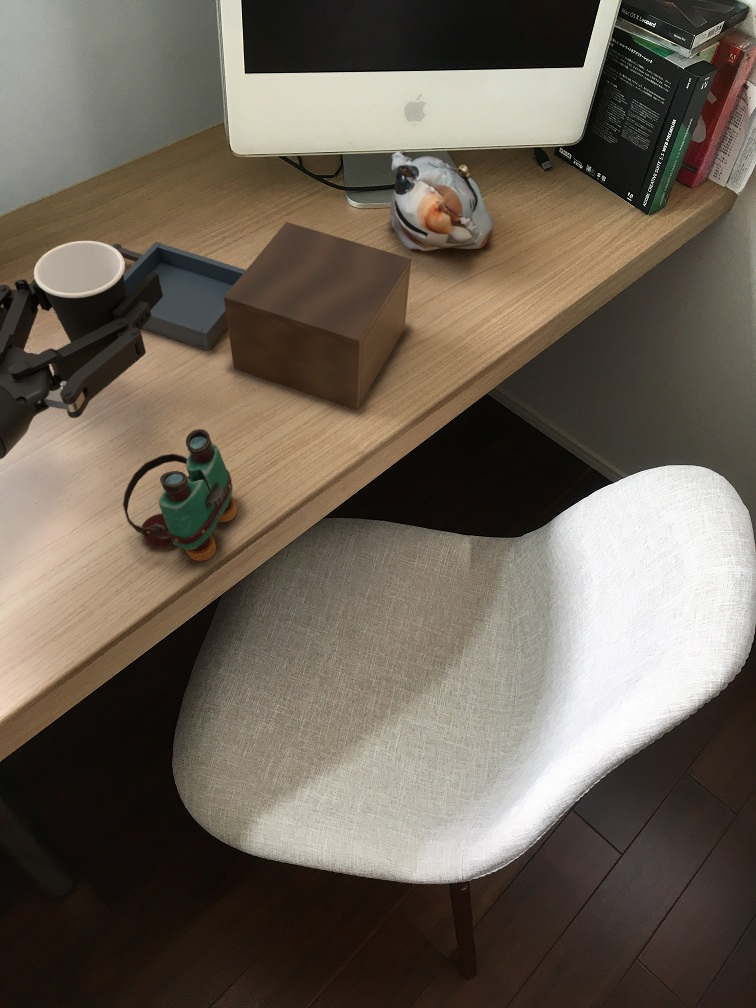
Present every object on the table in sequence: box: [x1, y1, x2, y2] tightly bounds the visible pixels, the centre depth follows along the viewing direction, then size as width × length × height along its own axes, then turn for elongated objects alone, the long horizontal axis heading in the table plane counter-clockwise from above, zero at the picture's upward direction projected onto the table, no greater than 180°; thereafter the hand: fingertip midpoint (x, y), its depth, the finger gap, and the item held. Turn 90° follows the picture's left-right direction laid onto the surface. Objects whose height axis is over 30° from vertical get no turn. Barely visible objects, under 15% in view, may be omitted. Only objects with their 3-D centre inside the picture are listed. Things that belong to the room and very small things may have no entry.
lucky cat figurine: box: [389, 150, 495, 252], centre depth 96 cm, size 15×12×14 cm
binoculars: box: [122, 428, 238, 562], centre depth 70 cm, size 9×11×10 cm
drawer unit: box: [224, 221, 412, 411], centre depth 85 cm, size 15×14×10 cm
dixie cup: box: [33, 240, 126, 343], centre depth 75 cm, size 8×8×11 cm
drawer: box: [111, 241, 247, 351], centre depth 91 cm, size 18×12×2 cm, turn 68°
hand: (118, 272), depth 76 cm, fingers closed on dixie cup, 8 cm apart
